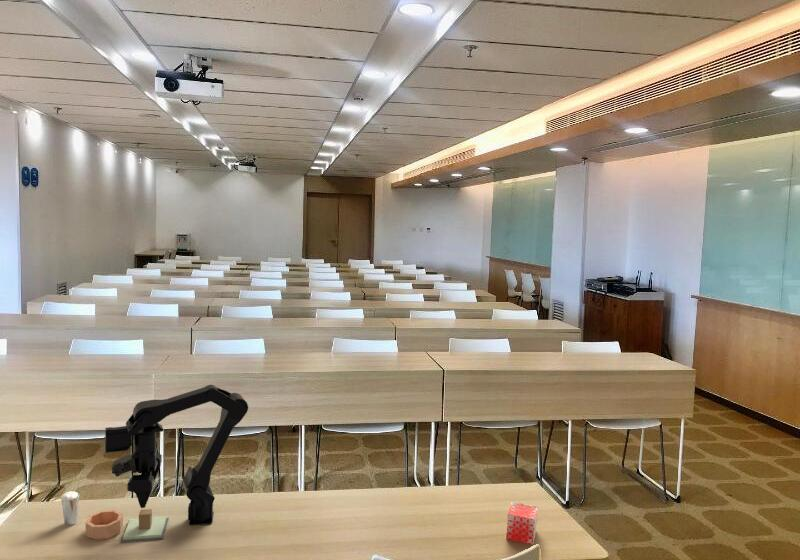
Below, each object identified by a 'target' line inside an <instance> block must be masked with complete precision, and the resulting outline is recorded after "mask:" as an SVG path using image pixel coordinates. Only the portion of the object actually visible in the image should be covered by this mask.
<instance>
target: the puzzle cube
mask: <svg viewBox="0 0 800 560" xmlns="http://www.w3.org/2000/svg"><path fill="white" fill-rule="evenodd" d="M538 510H539V506H535V505H530V504H525V503H519V502H516V501H515V502H514V501H511V503H510V506H509V510H508V513H507V523H506V524H507V525H506V537H505V539H506V540H510V541H515V542H519V543H524V544H529V545H534V541H535V537H536V533H537V525H538V513H539V511H538Z"/></svg>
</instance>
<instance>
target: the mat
mask: <svg viewBox="0 0 800 560" xmlns="http://www.w3.org/2000/svg"><path fill="white" fill-rule="evenodd" d="M128 523H129V520H128V522H127V524H126V525H125V529H124V532H123V535H122V537H121V539H120V544H121V543H133V542H135V543H136V542H144V541H146V542H147V541H158V540H164V538H165V533H166V530H167V526H168V523H169V517H167V519H166V522H165V526H164V530H163V533H162V537H158V538H144V539H131V540H123V536H124V533H125V531H126V528H127V526H128Z"/></svg>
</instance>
